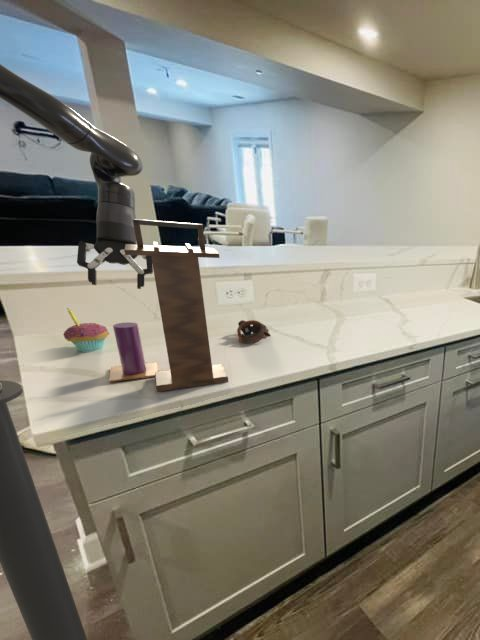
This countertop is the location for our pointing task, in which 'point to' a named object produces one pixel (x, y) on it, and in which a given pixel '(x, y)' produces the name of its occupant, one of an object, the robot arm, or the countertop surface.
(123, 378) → the cork coaster
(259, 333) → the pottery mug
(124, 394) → the countertop surface
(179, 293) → the stand
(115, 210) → the robot arm
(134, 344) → the plum cup
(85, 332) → the cupcake
